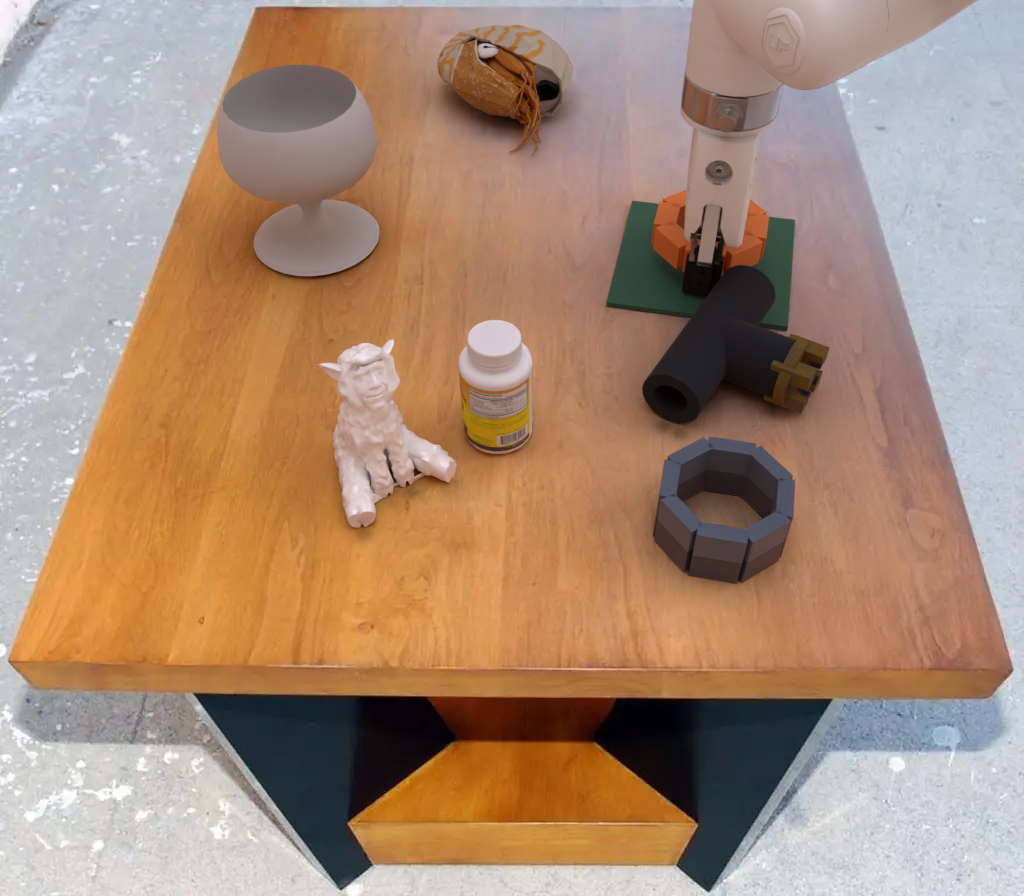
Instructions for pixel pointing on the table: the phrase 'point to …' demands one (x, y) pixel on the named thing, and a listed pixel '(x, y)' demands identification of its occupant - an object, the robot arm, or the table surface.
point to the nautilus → (508, 73)
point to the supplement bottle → (496, 388)
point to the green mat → (659, 285)
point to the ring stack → (728, 473)
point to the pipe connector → (733, 353)
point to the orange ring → (676, 247)
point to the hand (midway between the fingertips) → (701, 281)
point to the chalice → (301, 164)
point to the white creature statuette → (376, 433)
